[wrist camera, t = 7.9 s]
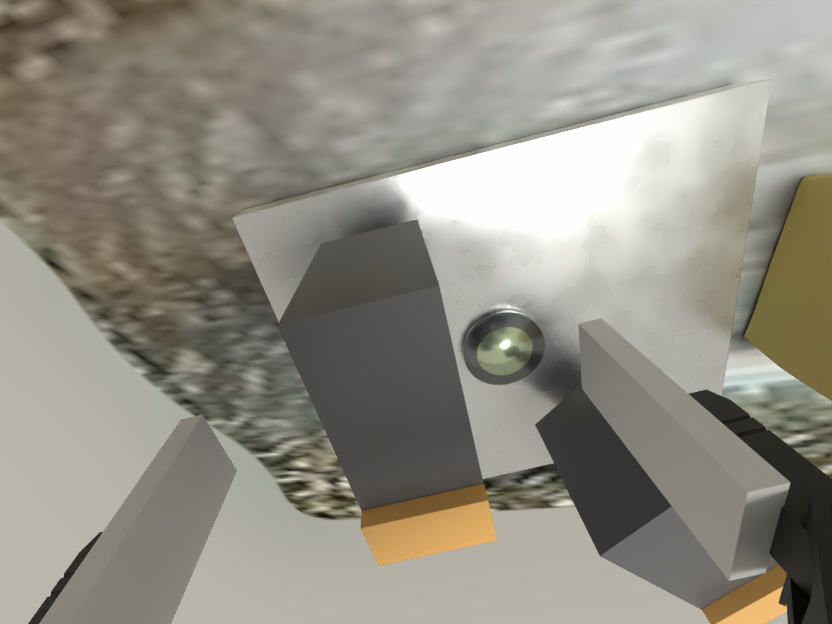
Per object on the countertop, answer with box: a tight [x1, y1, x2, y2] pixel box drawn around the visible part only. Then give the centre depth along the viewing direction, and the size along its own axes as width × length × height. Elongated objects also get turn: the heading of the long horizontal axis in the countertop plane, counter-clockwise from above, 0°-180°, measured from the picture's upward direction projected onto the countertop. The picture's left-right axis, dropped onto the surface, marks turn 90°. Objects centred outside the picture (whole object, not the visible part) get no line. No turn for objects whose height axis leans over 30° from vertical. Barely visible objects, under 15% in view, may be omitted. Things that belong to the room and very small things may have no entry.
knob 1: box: [278, 219, 497, 566], centre depth 15 cm, size 9×4×10 cm, turn 13°
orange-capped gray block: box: [535, 383, 787, 624], centre depth 19 cm, size 9×4×10 cm, turn 51°
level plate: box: [232, 79, 772, 479], centre depth 22 cm, size 20×24×3 cm
